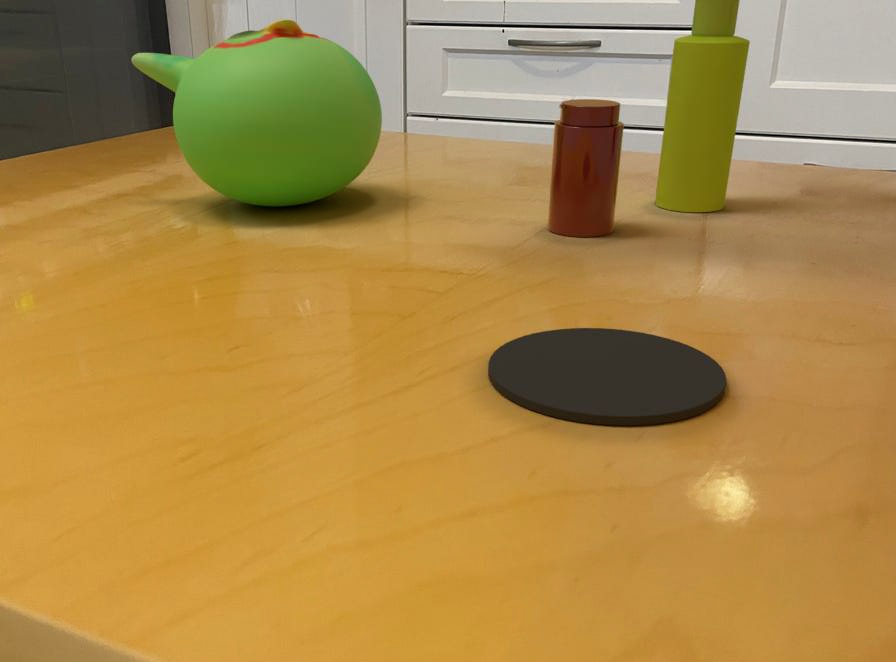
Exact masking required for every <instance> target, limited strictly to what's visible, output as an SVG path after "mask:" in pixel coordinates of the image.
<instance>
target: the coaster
mask: <svg viewBox="0 0 896 662" xmlns="http://www.w3.org/2000/svg"><path fill="white" fill-rule="evenodd" d="M487 365H488V367H487V375H488V379H489V381H490V383H491V384H492V387H494V389H495V390H496V391H497V392H499V393H500V394H501V395H502V396H503V397H505V398H506V399H508V400H509V401H510V402H513V403H515V404H516V405H518V406H521V407H523V408H526V409H529V410H531V411H533V412H536V413H540V414H541V415H545V416H550V417H554V418H557V419H561V420H566V421H572V422H578V423H584V424H593V425H605V426H628V427H629V426H649V425H659V424H665V423H673V422H678V421H681V420H686V419H689V418H692V417H695V416H698V415H700V414H702V413H705V412H707V411H710V410H711V408H713V407H715V406H716V405H717V404H718V403H719V402H720V401H721V400H722V399H723V397H724V394H725V392H726V387H727V376H726V375H727V374H726V372H725V371H724V369H723V367H722V366H721V365H720V364H719V363H718V362H717V361H716V360H715V359H713V357H711V356H710V355H708V354H707V353H705V352H703V351H702V350H699V349H698V348H695V347H693V346H691V345H688V344H685V343H684V342H680V341H677V340H674V339H671V338H668V337H663V336H660V335H655V334H652V333H646V332H640V331H634V330H626V329H618V328H603V327H602V328H601V327H572V328H559V329H551V330H544V331H539V332H534V333H533V332H532V333H529V334H525V335H523V336H519V337H516V338H513V339H511V340H510V341H507V342H505V343H504V344H502V345H501V346H499V347H497V349H496V350H494V351H493V353H492V354H491V356H490V357H489V360H488V363H487Z"/></svg>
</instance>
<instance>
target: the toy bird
mask: <svg viewBox="0 0 896 662" xmlns="http://www.w3.org/2000/svg"><path fill="white" fill-rule="evenodd" d="M131 63H132V65H133V66H134V67H135V68H136V69H138V70H139V71H140V72H142V73H143V74H144V75H146V76H148V78H151V79H152V80H154V81H156V82H157V83H159V84H161V85H162V86H163V87H165V88H167V89H169V90H170V91H172V92H174V93H175V97H174V99H173V105H172V106H173V107H172V124H173V125H172V126H173V131H174V135H175V140H176V142H177V145H178V148H179V150H180V152H181V154H182V156H183V158H184V160H185V162H186V163H187V164H188V166H189V167H190V169H191V170H192V171H193V173H194V174H196V176H197V177H198V178H199V179H200V180H201V181H203V183H204V184H206V185H207V186H209V188H211V189H212V190H214V191H216V192H217V193H219V194H221V195H223V196H225V197H227V198H229V199H232V200H234V201H236V202H241V203H244V204H249V205H254V206H261V207H290V206H297V205H303V204H304V205H305V204H309V203H312V202H315V201H319V200H322V199H324V198H327V197H330V196H331V195H334V194H336V193H337V192H339V191H340V190H343V189H344V188H345V187H348V185H350V184H351V183H353V181H355V180H356V179H357V178H358V177H359V176H360V175H361V174H363V172H364V171H365V169H366V168H367V167H368V165H369V164H370V162H371V161H372V159H373V157H374V156H375V153H376V151H377V149H378V145H379V143H380V142H379V141H380V138H381V135H382V134H381V133H382V126H383V125H382V124H383V113H382V105H381V101H380V97H379V93H378V90H377V88H376V86H375V84H374V81H373V79H372V77H371V76H370V74H369V72H368V71H367V69H366V68H365V67H364V65H363V64H362V63H361V62H360V61H359V60H358V59H357V58H356V56H354V55H353V54H352V53H351V52H350V51H349V50H347V49H346V48H344V47H342V46H341V45H339V44H338V43H336V42H334V41H332V40H330V39H328V38H325V37H320V36H319V35H318V34H315V33H310V32H307V31H306V32H305V31H303V29H302V28H301V27H300V25H299V24H298V23H297V22H296V21H295V20H293V19H287V18H285V19H284V18H283V19H278V20H276V21H274V22H272V23H270V24H268V25H267V26H265V27H264V28H262V29H259V30H250V29H249V30H245V31H244V30H243V31H241V32H237V33H234V34H232V35H231V36H229V37H228V38H226V39H224V40H221V41H220V42H218V43H216V44H214V45H212V46H211V47H209V48H208V49H206V50H205V51H204V52H202V53H201V54H200V55H199V56H198V57H189V56H181V55H176V54H175V55H174V54H167V53H157V52H138V53H135V54H133V55H132V57H131Z"/></svg>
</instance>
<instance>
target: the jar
mask: <svg viewBox="0 0 896 662" xmlns="http://www.w3.org/2000/svg"><path fill="white" fill-rule="evenodd" d="M559 109H560V116H559V119H558V120H556V121H554V127H553V139H552V140H553V141H552V155H551V156H552V157H551V172H550V186H549V199H548V200H549V201H548V214H547V216H548V217H547V230H548V231H550V232H551V233H554V234H557V235H560V236H566V237H574V238H594V237H602V236H606V235H610V234H611V233H612V232H613V231H614V225H615V218H616V217H615V216H616V208H617V198H618V188H619V187H618V186H619V178H620V177H619V176H620V169H621V167H620V166H621V157H622V148H623V137H624V128H625V123H624V122H622V121H620V115H621V103H620V102H618V101H615V100H609V99H595V98H581V99H579V98H578V99H567V100H563V101H561V103H560V104H559Z"/></svg>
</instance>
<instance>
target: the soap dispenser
mask: <svg viewBox="0 0 896 662" xmlns="http://www.w3.org/2000/svg"><path fill="white" fill-rule="evenodd" d="M740 2H741V1H740V0H695V1H694V9H693V17H692V25H691V34H690V35H684V36H680V37H678V38H675V39H674V42H673V50H672V58H671V65H670V66H671V67H670V75H669V83H668V92H667V99H666V100H667V101H666V108H665V117H664V126H663V133H662V134H663V135H662V141H661V149H660V157H659V164H658V165H659V167H658V173H657V181H656V190H655V198H654V199H655V200H654V205H656V206H657V207H658V208H662V209H665V210H669V211H673V212H681V213H712V212H717V211H720V210H723V209H724V207H725V202H726V196H727V189H728V183H729V177H730V172H731V171H730V170H731V164H732V157H733V151H734V145H735V140H736V139H735V138H736V131H737V125H738V119H739V112H740V107H741V100H742V93H743V88H744V82H745V81H744V80H745V74H746V67H747V61H748V57H749V56H748V55H749V49H750V42H751V41H750V40H749V39H747V38H744V37H742V36H737V35H735V34H736V27H737V20H738V14H739V8H740V7H739V6H740Z"/></svg>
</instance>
